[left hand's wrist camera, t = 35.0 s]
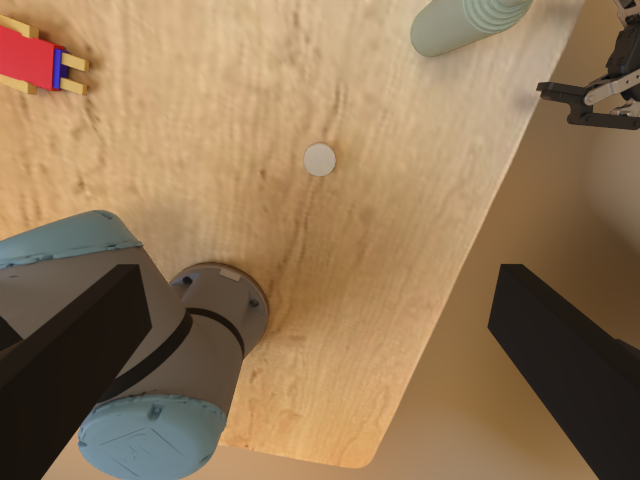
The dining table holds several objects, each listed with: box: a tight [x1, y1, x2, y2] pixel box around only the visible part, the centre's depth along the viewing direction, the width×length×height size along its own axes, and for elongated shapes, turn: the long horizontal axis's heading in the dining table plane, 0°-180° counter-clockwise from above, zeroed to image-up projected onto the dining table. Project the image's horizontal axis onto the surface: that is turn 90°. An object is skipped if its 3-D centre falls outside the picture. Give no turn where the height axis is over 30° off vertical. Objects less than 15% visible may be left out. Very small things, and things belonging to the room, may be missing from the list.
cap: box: [304, 142, 336, 176], centre depth 43 cm, size 4×4×2 cm
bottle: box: [411, 0, 533, 57], centre depth 29 cm, size 5×5×20 cm
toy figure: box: [0, 14, 89, 95], centre depth 38 cm, size 2×7×12 cm
